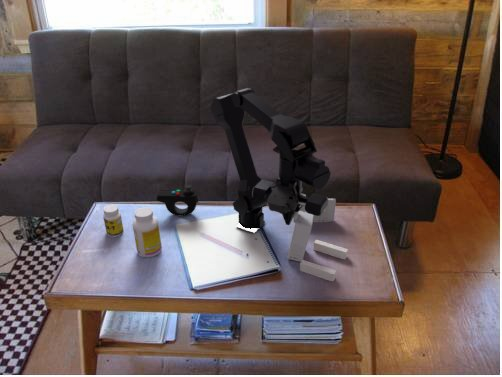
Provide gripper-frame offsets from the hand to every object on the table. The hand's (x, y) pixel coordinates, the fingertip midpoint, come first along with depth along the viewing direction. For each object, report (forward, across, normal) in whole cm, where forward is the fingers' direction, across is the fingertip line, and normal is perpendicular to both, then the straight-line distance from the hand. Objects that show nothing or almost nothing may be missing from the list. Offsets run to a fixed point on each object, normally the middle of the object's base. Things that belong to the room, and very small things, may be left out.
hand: (288, 224), depth 122 cm
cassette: (+10, +1, +17) cm, 19 cm away
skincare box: (+9, +2, 0) cm, 9 cm away
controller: (+9, -36, +1) cm, 38 cm away
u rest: (+9, +10, 0) cm, 14 cm away
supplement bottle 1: (+9, -47, -15) cm, 51 cm away
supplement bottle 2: (+9, -33, -17) cm, 39 cm away
